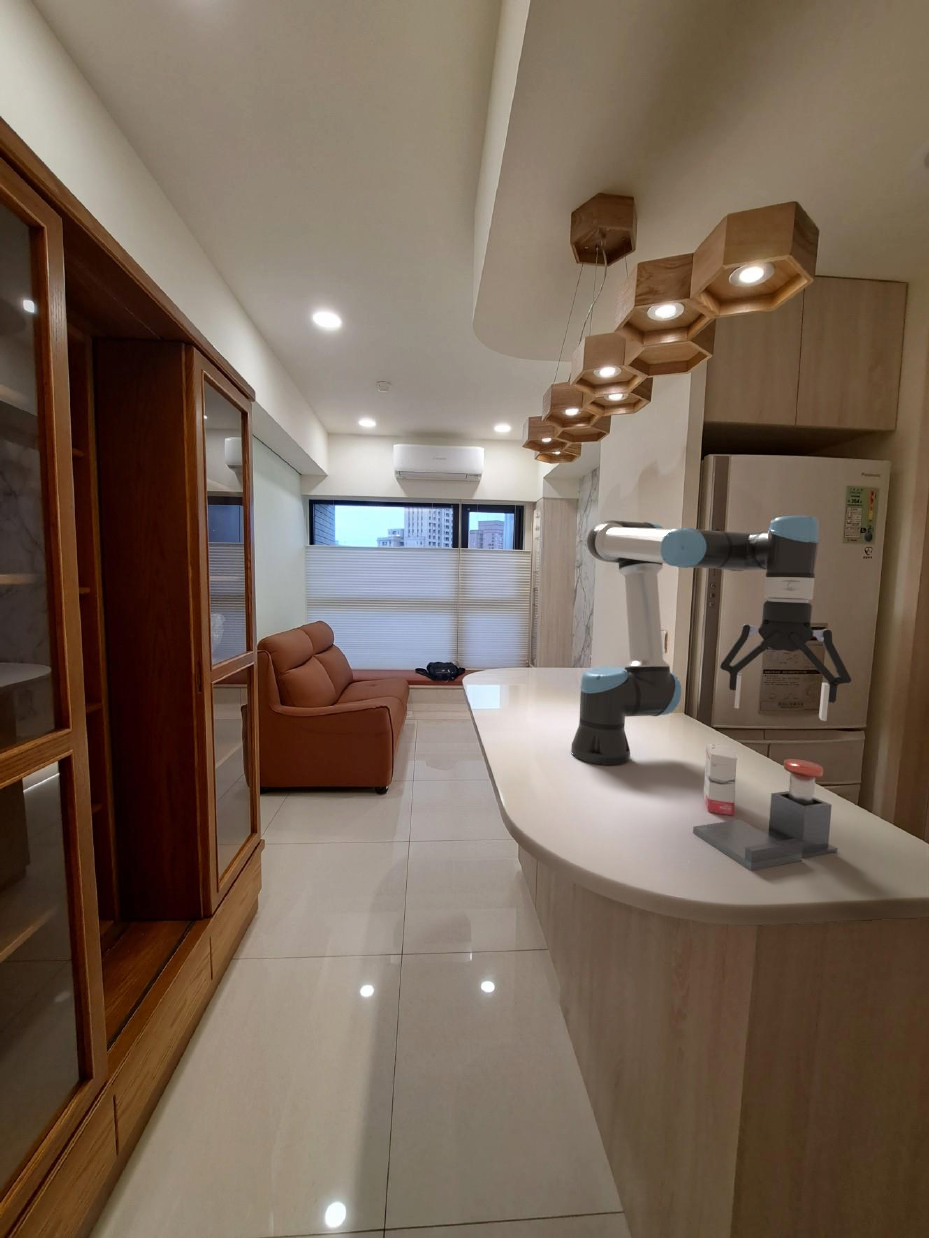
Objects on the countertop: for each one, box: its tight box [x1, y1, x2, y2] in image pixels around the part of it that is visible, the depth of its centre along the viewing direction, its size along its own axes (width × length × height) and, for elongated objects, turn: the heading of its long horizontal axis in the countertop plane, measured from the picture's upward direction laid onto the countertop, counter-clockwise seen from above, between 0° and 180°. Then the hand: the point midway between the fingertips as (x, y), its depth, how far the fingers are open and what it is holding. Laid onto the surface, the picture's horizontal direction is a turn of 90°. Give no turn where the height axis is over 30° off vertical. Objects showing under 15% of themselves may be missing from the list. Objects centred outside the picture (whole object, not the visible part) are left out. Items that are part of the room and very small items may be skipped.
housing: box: [761, 790, 838, 859], centre depth 83 cm, size 8×8×8 cm
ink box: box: [703, 742, 738, 816], centre depth 97 cm, size 9×5×12 cm, turn 158°
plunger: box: [783, 758, 824, 806], centre depth 83 cm, size 6×6×9 cm
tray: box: [692, 819, 803, 871], centre depth 82 cm, size 12×11×3 cm
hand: (777, 713), depth 89 cm, fingers open, 13 cm apart
